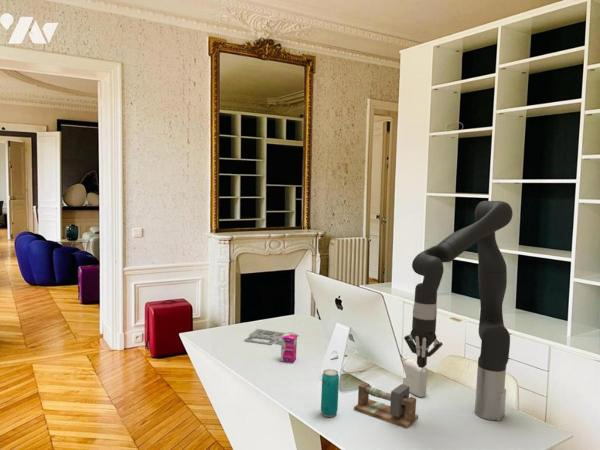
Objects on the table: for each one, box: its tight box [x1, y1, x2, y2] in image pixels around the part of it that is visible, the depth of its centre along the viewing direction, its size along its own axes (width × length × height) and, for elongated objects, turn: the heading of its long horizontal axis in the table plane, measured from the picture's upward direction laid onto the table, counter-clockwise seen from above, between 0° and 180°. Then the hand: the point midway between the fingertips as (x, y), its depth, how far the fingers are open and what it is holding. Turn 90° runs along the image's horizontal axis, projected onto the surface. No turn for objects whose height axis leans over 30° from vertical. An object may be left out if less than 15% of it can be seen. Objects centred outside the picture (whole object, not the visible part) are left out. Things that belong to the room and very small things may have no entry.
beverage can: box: [320, 368, 340, 418], centre depth 170 cm, size 6×6×15 cm
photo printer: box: [402, 358, 428, 398], centre depth 191 cm, size 10×4×12 cm, turn 29°
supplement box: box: [280, 334, 298, 364], centre depth 220 cm, size 6×6×12 cm
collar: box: [389, 383, 410, 417], centre depth 169 cm, size 3×8×8 cm, turn 143°
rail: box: [353, 382, 419, 429], centre depth 172 cm, size 20×9×8 cm, turn 53°
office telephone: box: [244, 328, 300, 346], centre depth 251 cm, size 23×3×20 cm
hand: (421, 366), depth 163 cm, fingers closed
